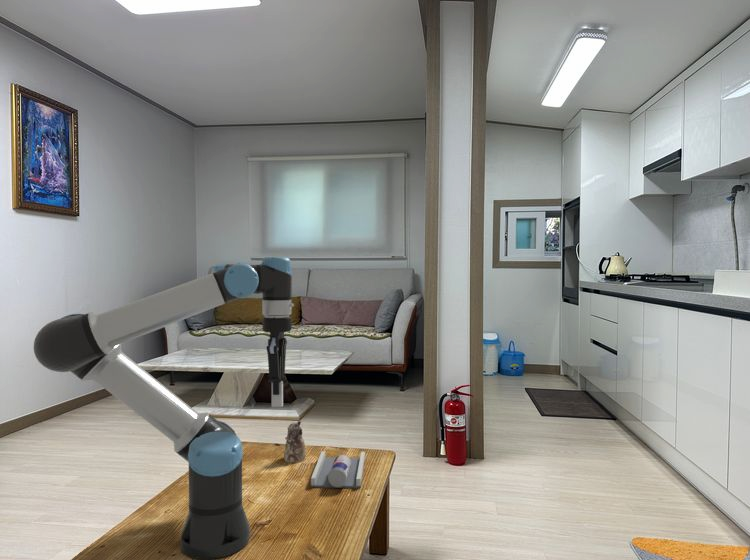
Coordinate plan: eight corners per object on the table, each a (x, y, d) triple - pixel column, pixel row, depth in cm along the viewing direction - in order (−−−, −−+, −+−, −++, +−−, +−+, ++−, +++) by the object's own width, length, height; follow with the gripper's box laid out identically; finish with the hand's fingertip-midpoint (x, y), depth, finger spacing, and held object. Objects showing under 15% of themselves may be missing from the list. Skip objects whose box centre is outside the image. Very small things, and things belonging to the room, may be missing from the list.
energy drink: (324, 474, 144) (331, 459, 156) (333, 491, 144) (339, 474, 156) (340, 465, 144) (346, 450, 156) (350, 482, 143) (354, 466, 155)
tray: (360, 488, 145) (360, 479, 145) (310, 487, 146) (310, 478, 146) (364, 459, 167) (364, 451, 167) (321, 459, 168) (321, 451, 167)
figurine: (279, 459, 167) (279, 422, 167) (295, 453, 173) (295, 418, 173) (293, 464, 163) (293, 427, 163) (310, 458, 168) (310, 422, 168)
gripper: (286, 318, 126) (286, 413, 127) (296, 314, 139) (296, 400, 140) (256, 318, 127) (256, 412, 127) (269, 314, 140) (269, 399, 140)
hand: (277, 406), depth 133 cm, fingers closed
